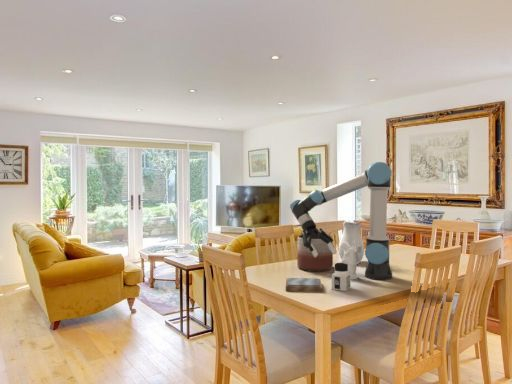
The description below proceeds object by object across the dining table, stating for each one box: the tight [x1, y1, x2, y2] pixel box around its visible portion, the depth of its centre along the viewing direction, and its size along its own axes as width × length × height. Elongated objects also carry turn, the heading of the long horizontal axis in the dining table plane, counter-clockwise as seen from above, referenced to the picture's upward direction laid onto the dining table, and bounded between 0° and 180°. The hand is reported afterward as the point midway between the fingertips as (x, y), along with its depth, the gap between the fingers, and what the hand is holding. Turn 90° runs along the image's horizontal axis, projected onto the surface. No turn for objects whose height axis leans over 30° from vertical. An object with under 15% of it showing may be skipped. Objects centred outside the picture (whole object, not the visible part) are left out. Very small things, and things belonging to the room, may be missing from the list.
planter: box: [296, 234, 334, 272], centre depth 249 cm, size 22×22×20 cm
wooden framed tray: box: [285, 277, 323, 293], centre depth 204 cm, size 18×16×3 cm
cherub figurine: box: [340, 241, 362, 280], centre depth 224 cm, size 12×12×22 cm
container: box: [331, 262, 352, 292], centre depth 201 cm, size 8×8×13 cm
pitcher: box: [338, 219, 365, 264], centre depth 270 cm, size 24×17×28 cm
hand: (326, 254), depth 210 cm, fingers open, 13 cm apart
